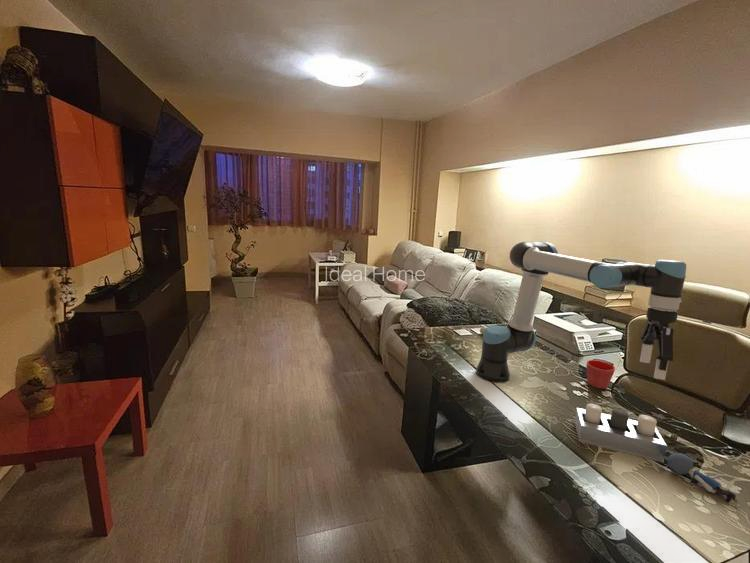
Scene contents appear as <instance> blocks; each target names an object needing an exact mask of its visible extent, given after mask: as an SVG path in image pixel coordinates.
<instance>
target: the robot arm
mask: <svg viewBox="0 0 750 563" xmlns="http://www.w3.org/2000/svg"><path fill="white" fill-rule="evenodd" d="M509 260H510V262H511V264H512V265H513V266H514V267H515V268H518V269H520V270H521V271H522V278H521V282H520V285H519V289H518V294H517V298H516V303H515V306H514V310H513V311H514V312H513V314H512V318H511V319H510V320H508V322H507V325H506V326H503V325H491V326H488V327H485V328H486V329H485V330H484V334H482V342H481V343H482V344H481V345H482V348H481V356H480V359H479V362H478V364H477V366H476V370H475V371H476V372H475V373H476V376H477V377H479V378H480V379H482V380H484V381H486V382H491V383H497V384H498V383H502V384H503V383H506V382H508V381H509V380H510V377H511V376H510V375H511V374H510V373H511V372H510V369H509V365H508V356H509V355H508V354H513V353H519V352H525V351H528V350H530V349H532V348H533V347H534V346H535V344H536V342H537V335H536V332H535V330H534V326H533V324H532V323H533V319H534V315H535V311H536V307H537V304H538V300H539V296H540V293H541V292H540V291H541V288H542V284H543V281H544V277H546V276H548V275H549V273H550V274H554V275H557V276H563V277H567V278H571V279H573V280H574V279H575V280H578V281H583V282H587V283H592V285H594V286H595V287H597V288H604V289H611V288H616V287H626V286H627V287H628V286H637V287H643V288H644V287H645V288H650V293H649V298H648V303H647V305H648V307H647V310H646V316H645V317H646V318H647V320H646V323H645V324H646V325H645V327H644V329H643V332H642V334H641V337H640V340H641V342H642V346H641V352H640V358H639V362H640V363H646V364H650V363H651V360H652V359H651V358H652V353H653V347H654V345H655V340H656V344H657V353H658V356H657V357H655V358H656V362H655V367H654V373H653V379H658V380H664V381H666V377H667V371H668V366H669V362H673V361H674V340H673V339H674V338H673V336H674V331H675V330H674V328H671V327H669V326H670V325H669V324H674V323H676V322H677V321H678V320H677V319H678V315H679V311H678V310H679V309H680V303H683V300H682V293H683V288H684V285H685V279H686V278H687V277H686V274H687V263H685V262H684V261H681V260H675V259H673V260H670V259H658V260H655V261H656V262H655V264H646V263H640V262H639V263H638V262H632V261H618V262H616V263H608V262H602V261H597V260H591V259H586V258H581V257H575V256H569V255H564V254H559V252H558V249H557V248H556V246H555V245H554V244H553V243H551V242H547V241H522V242H521V241H520V242H518V243H516V244H515V245H514V246H513V247H512V248H511V249H510V252H509Z"/></svg>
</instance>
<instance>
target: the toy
mask: <svg viewBox="0 0 750 563" xmlns="http://www.w3.org/2000/svg"><path fill="white" fill-rule="evenodd" d="M663 458H664V460H665V461H666V464H667V467H668V468H669V469H670V470H671V471H672V472H673V473H674V474H676V475H680V476H683V475H684V476H685V475H688V474H689V476H691V477H690V478H689V480H690V482H691V483H692V484H696V485H698V484H700V485H701V486H702V487H704V489H705V490H706V491H707V492H709V493H711V494H718V495H719V496H726V499H725V502H726V503H727V504H730V503H731V501H732V500H734V499H736V494H735V493H733V492H732V491H730V490H727V489H722V488H721V486H722V484H721V483H719V482H717V480H714V479H713V478H711V477H710V476H708V475H705V474H703V473H701V471H698V470H696V469H694V462H693V460H692V459H691V457H689V456H688V455H686V454H684V453H680V452H675V453H671V454H669V455H668V456H666V455H665V456H664V457H663Z"/></svg>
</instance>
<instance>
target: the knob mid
mask: <svg viewBox="0 0 750 563" xmlns="http://www.w3.org/2000/svg"><path fill="white" fill-rule="evenodd" d="M610 415H611V419H610V425H609V427H610V428H614V429H618V430H622V431H626V428H627V422H628V419H629V416H630V415H629V413H628V412H626V411H624V410H623V409H618V408H612V410H611V414H610Z"/></svg>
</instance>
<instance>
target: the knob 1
mask: <svg viewBox="0 0 750 563" xmlns="http://www.w3.org/2000/svg"><path fill="white" fill-rule="evenodd" d="M585 410H586V411H585V417H584V422H588V423H592V424H596V425H600V420H601V414H602V413H603V408H602V407H601V406H600V405H597V404H595V403H586V406H585Z"/></svg>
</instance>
